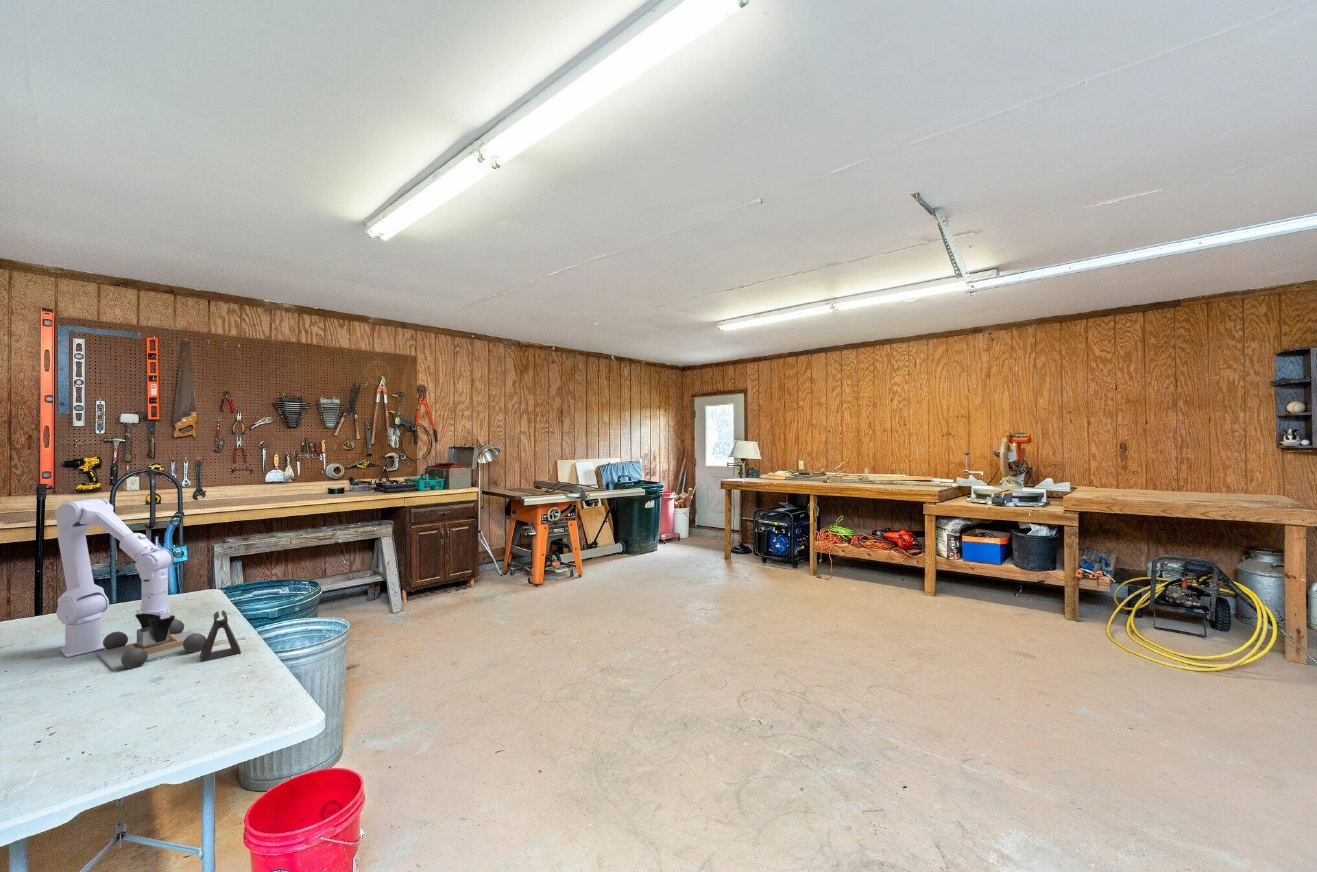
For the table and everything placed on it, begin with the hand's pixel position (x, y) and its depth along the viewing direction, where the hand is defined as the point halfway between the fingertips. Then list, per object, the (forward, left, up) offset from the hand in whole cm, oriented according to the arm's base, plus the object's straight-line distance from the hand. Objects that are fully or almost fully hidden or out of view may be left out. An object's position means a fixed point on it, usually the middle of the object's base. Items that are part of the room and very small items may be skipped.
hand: (155, 638), depth 160 cm
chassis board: (0, 0, -3) cm, 3 cm away
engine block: (0, 0, -3) cm, 3 cm away
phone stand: (+19, +10, -4) cm, 22 cm away
